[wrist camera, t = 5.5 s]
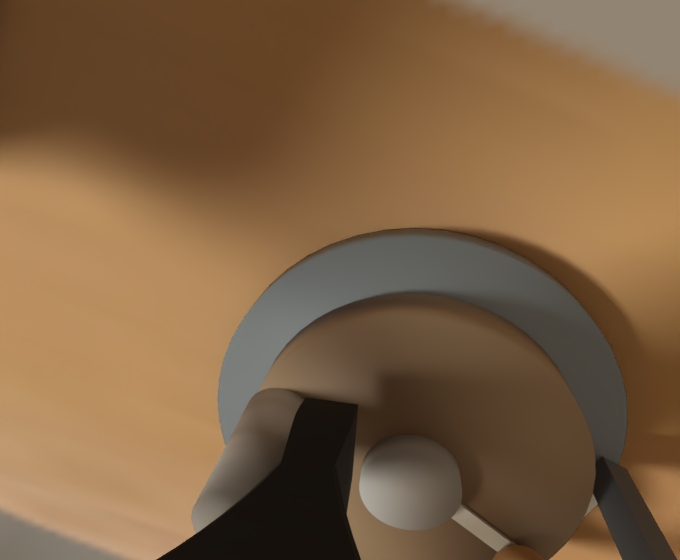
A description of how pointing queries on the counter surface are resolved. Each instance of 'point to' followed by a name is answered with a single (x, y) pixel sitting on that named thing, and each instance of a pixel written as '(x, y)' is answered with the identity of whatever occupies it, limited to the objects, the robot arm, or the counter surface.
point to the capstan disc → (427, 431)
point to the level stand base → (473, 287)
